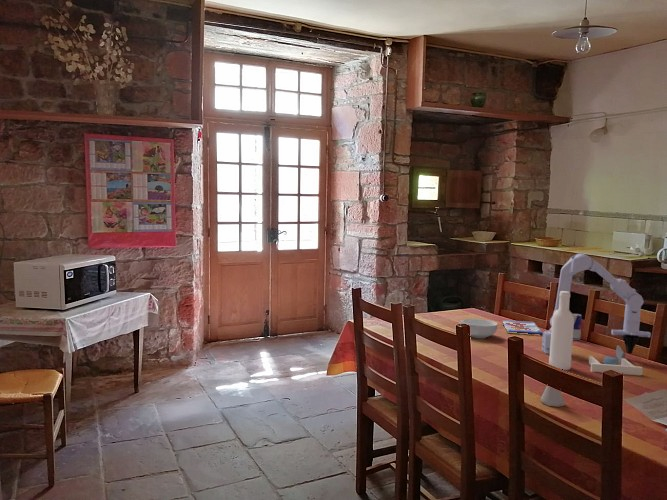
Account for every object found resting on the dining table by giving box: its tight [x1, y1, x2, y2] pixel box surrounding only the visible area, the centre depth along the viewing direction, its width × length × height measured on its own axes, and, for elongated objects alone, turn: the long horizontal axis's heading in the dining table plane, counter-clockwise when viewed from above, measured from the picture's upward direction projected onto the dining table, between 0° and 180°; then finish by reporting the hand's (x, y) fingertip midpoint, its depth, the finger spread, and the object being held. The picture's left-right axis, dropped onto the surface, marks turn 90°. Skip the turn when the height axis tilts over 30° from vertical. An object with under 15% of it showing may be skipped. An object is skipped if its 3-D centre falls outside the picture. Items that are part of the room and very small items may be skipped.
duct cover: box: [615, 344, 626, 364], centre depth 219 cm, size 14×1×4 cm, turn 160°
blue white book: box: [501, 319, 544, 336], centre depth 270 cm, size 17×24×3 cm
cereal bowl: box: [460, 318, 499, 339], centre depth 253 cm, size 17×17×7 cm
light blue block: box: [603, 356, 619, 365], centre depth 209 cm, size 5×5×4 cm
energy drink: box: [572, 313, 583, 341], centre depth 252 cm, size 5×5×12 cm
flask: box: [540, 385, 566, 408], centre depth 170 cm, size 7×7×10 cm
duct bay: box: [588, 355, 644, 376], centre depth 208 cm, size 18×12×3 cm, turn 80°
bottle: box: [548, 291, 574, 371], centre depth 207 cm, size 8×8×30 cm
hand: (629, 352), depth 221 cm, fingers closed
